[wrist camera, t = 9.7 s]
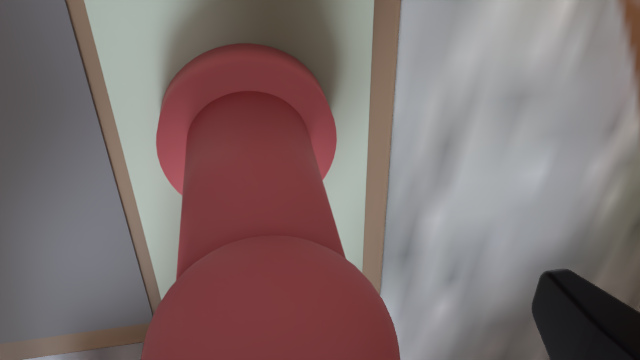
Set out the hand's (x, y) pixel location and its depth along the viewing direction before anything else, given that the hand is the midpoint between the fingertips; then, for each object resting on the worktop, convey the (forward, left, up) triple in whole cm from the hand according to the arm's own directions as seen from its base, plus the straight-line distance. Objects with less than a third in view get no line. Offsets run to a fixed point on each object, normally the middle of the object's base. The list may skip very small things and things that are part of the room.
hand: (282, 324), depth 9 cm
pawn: (0, 0, -7) cm, 7 cm away
